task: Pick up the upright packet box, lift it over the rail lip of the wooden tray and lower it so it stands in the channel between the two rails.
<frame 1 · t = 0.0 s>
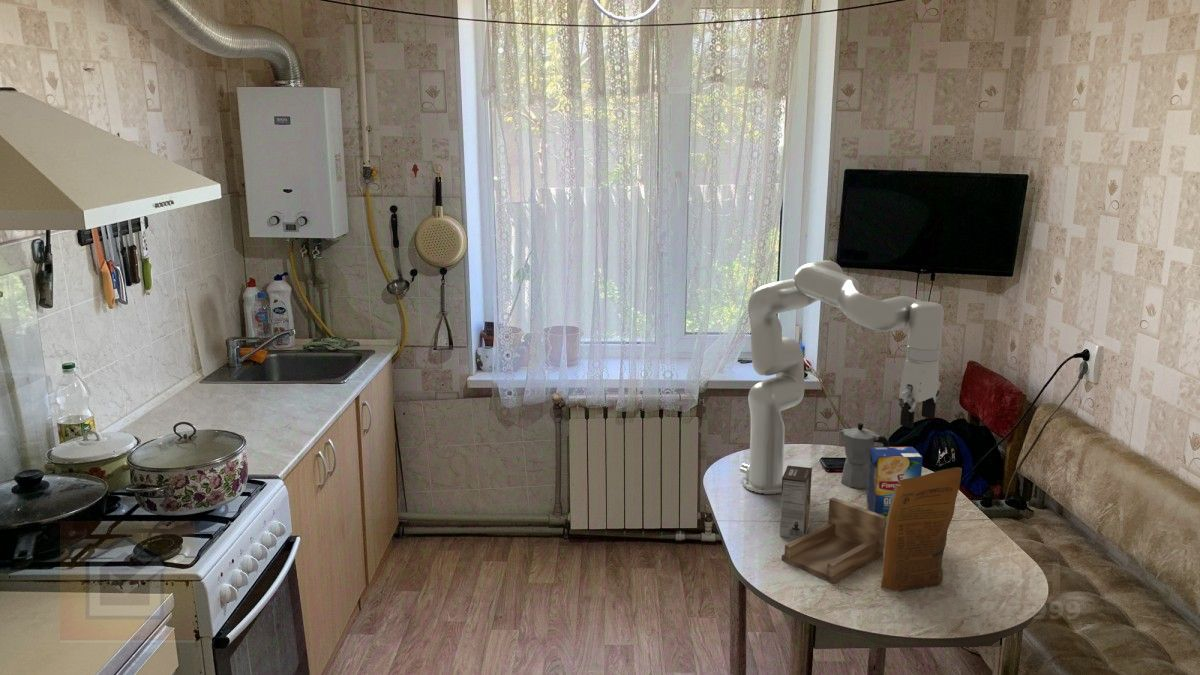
hand: (917, 421, 218), 31 cm above the table, tool pointing down, fingers open, 9 cm apart
coffee box: (794, 531, 230), on the table
wooden tray: (832, 557, 216), on the table
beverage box: (889, 533, 229), on the table
pancake mix bag: (915, 585, 204), on the table
coffeepot: (860, 483, 260), on the table
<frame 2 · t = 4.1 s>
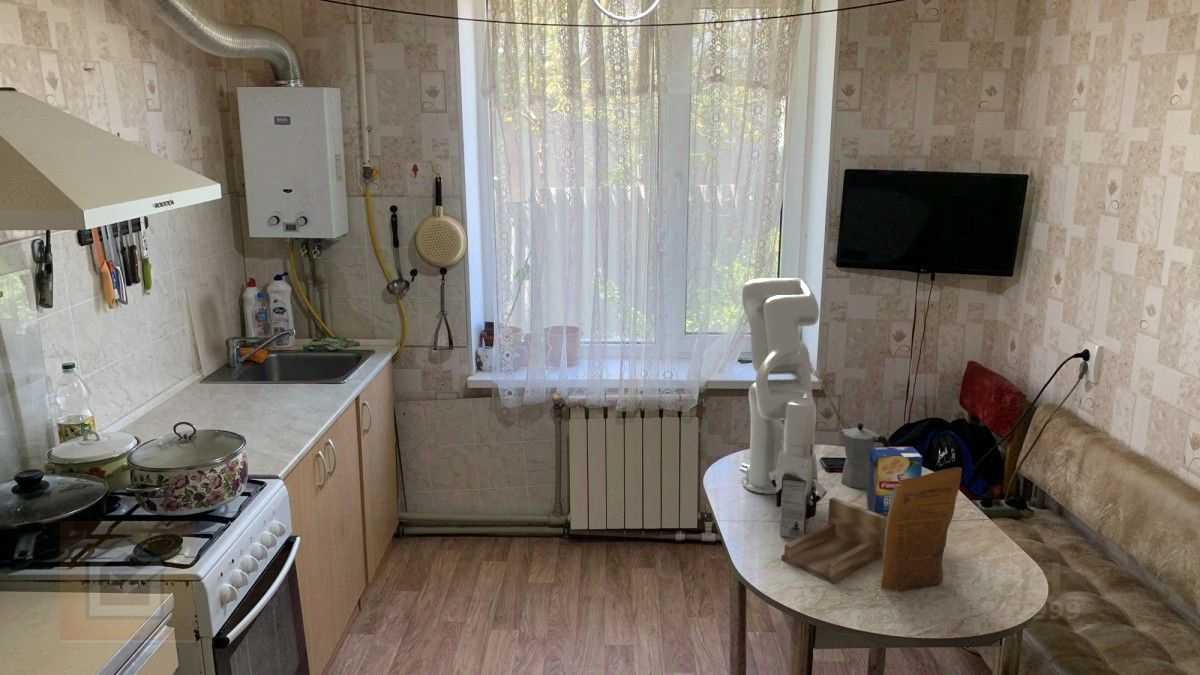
hand: (795, 511, 229), 5 cm above the table, tool pointing down, fingers closed on coffee box, 8 cm apart
coffee box: (794, 531, 230), on the table, touching gripper
everything else where it was.
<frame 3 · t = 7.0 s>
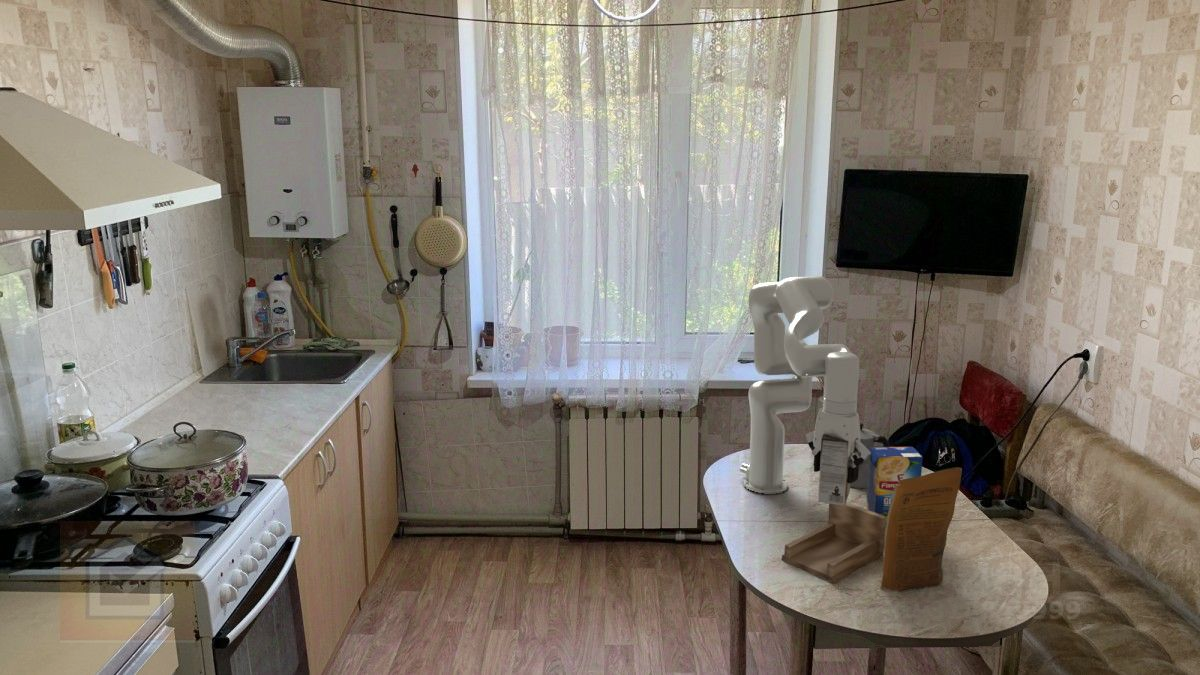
hand: (835, 475, 210), 21 cm above the table, tool pointing down, fingers closed on coffee box, 8 cm apart
coffee box: (834, 497, 212), point 16 cm above the table, touching gripper
everything else where it was.
when the fingers open (7 cm above the table, at t = 10.2 s): coffee box stays where it is, resting on wooden tray.
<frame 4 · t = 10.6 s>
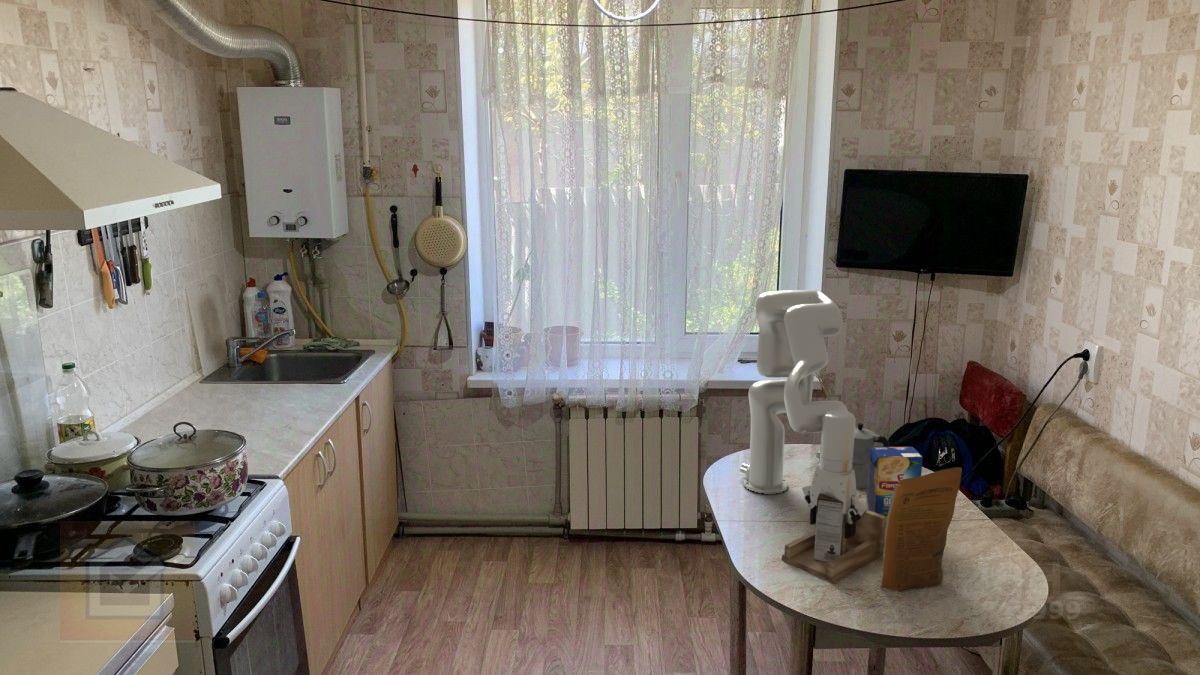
hand: (831, 529, 214), 8 cm above the table, tool pointing down, fingers open, 9 cm apart
coffee box: (830, 554, 216), point 1 cm above the table, touching wooden tray
everything else where it was.
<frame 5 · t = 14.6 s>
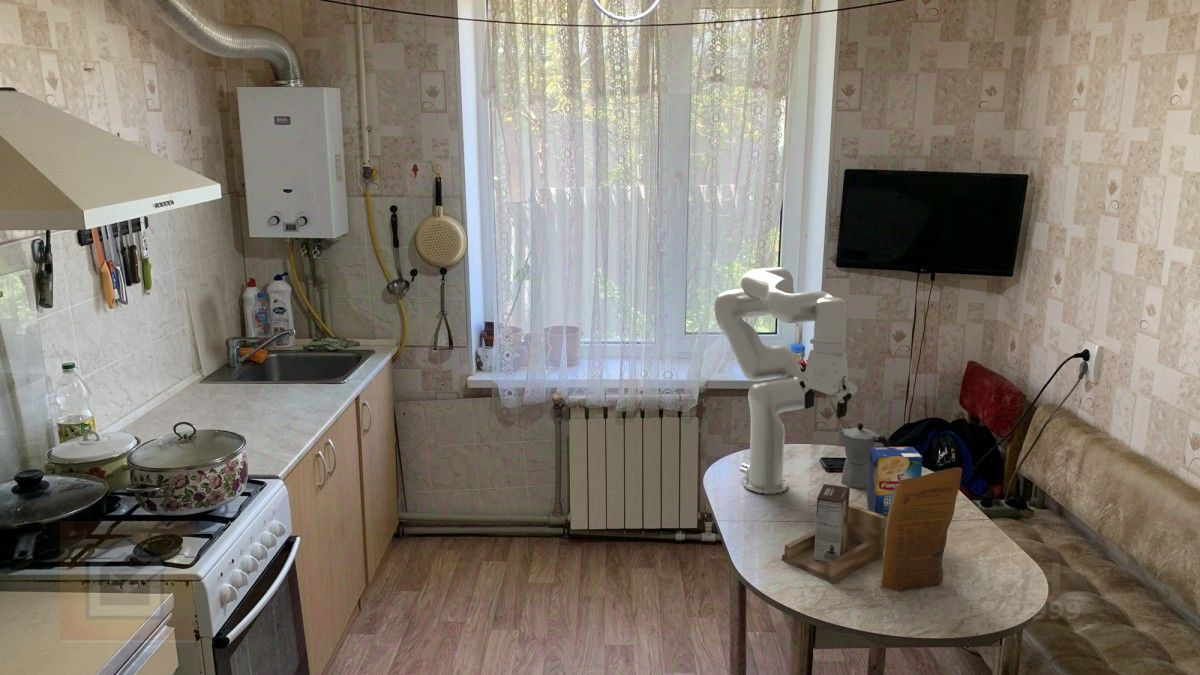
hand: (824, 411, 228), 30 cm above the table, tool pointing down, fingers open, 9 cm apart
nothing on the table moved.
at the end: coffee box inside the target area on the wooden tray (0.4 cm from its centre), point 1.0 cm above the wooden tray's base; coffee box tilted 0°; the gripper is holding nothing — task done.
